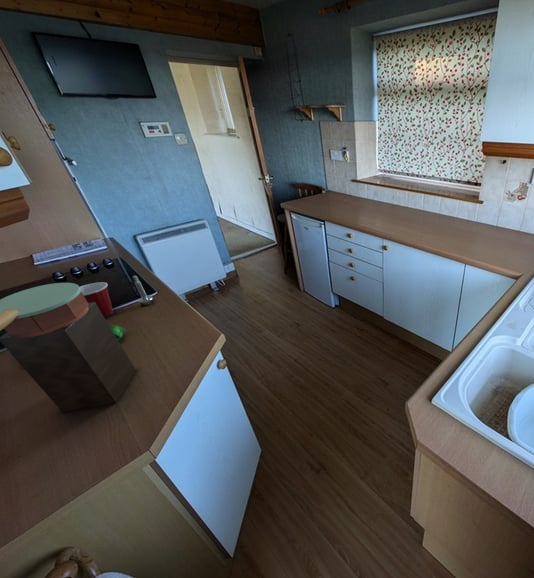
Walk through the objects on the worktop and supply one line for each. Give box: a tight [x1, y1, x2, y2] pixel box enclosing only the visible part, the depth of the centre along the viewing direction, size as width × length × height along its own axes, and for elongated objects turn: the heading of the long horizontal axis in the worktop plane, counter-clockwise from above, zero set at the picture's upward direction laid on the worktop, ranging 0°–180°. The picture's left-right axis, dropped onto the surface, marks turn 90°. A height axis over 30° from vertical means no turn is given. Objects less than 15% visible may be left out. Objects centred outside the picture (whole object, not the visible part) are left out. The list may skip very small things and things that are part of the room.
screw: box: [132, 275, 154, 306], centre depth 116 cm, size 13×5×5 cm
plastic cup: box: [79, 281, 114, 319], centre depth 109 cm, size 11×11×12 cm
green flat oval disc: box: [0, 282, 81, 332], centre depth 62 cm, size 26×15×3 cm, turn 15°
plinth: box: [0, 292, 137, 413], centre depth 75 cm, size 14×14×30 cm
